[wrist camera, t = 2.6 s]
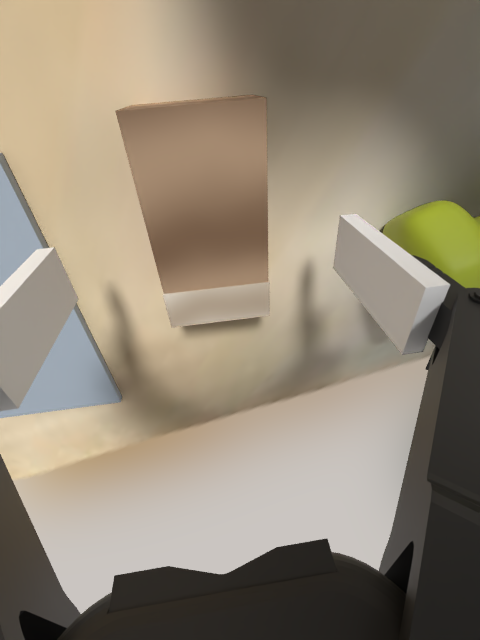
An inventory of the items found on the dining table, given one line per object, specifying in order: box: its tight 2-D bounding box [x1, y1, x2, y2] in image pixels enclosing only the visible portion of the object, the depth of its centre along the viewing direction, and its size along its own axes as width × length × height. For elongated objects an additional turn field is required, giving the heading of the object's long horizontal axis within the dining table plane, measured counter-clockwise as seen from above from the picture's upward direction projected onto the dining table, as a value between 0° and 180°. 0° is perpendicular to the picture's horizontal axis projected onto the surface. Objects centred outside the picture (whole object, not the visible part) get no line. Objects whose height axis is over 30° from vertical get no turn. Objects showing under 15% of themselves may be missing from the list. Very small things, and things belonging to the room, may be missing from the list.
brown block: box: [116, 95, 270, 327], centre depth 17 cm, size 11×6×4 cm, turn 4°
